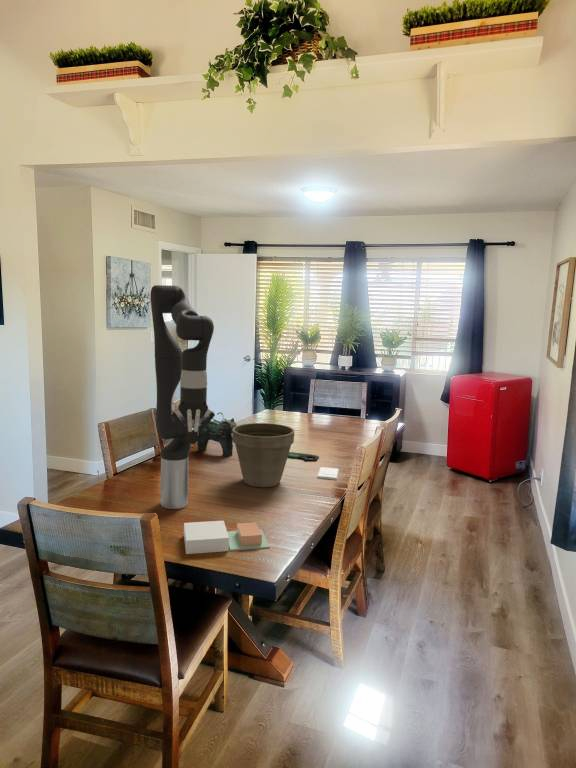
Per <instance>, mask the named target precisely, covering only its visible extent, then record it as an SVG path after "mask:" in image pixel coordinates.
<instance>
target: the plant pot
mask: <svg viewBox="0 0 576 768" xmlns="http://www.w3.org/2000/svg"><path fill="white" fill-rule="evenodd" d="M232 439H233V443H234V445H235V450H236V454H237V459H238V462H239V466H240V471H241V474H242V475H241V477H242V479H243V482H244V483H245V484H247V485H248V486H251V487H256V488H270V487H274V486H277V485H279V484H280V482H281V480H282V478H283V473H284V470H285V468H286V463H287V460H288V458H287V457H288V454H289V452H291V451H290V449H291V446H292V445H293V444H294V441H295V429H294V428H292V427H291V426H287V425H283V424H278V423H270V422H269V423H268V422H256V423H255V422H254V423H252V422H250V423H242V424H239V425H237V426H235V427H234V428H233V429H232Z"/></svg>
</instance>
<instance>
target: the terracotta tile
mask: <svg viewBox="0 0 576 768" xmlns="http://www.w3.org/2000/svg"><path fill="white" fill-rule="evenodd" d="M259 529H260V528H259V526H258V522H256V521H255V522H254V521H253V522H241V523H240V522H239V523H236V531H237V535H238V538H239V541H240V544H241V546H249V545H262V534H261V532H260V530H259Z"/></svg>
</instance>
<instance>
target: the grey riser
mask: <svg viewBox="0 0 576 768" xmlns="http://www.w3.org/2000/svg"><path fill="white" fill-rule="evenodd" d="M227 531H228V530H227V526H226V524H225V520H213V521H211V520H209V521H195V522H184V523H183V540H184V547H185V554H186V555H192V554H206V553H207V554H208V553H217V552H219V553H220V552H221V553H222V552H229V551H230V548H229V536H228V533H227Z"/></svg>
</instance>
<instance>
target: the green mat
mask: <svg viewBox="0 0 576 768" xmlns="http://www.w3.org/2000/svg"><path fill="white" fill-rule="evenodd" d="M259 530H260V532H261V534H262V545H249V546H241V544H240V541H239V538H238V535H237V530H230V531H228V530H227V533H228V536H229V551H230V552H233V551H245V550H246V551H247V550H262V549H270V544H269V542H268V540H267V538H266V536H265V534H264V531H263V529H261V528H259Z"/></svg>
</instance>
